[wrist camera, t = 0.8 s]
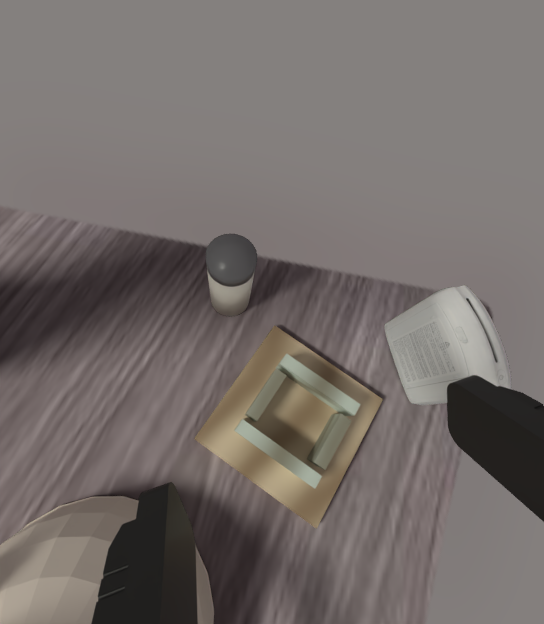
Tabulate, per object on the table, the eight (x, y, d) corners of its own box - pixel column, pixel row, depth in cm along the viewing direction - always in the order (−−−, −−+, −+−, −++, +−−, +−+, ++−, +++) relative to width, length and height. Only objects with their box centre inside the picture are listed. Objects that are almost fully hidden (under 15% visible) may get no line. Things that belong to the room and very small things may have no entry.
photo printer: (442, 401, 37) (539, 389, 26) (408, 410, 36) (493, 402, 25) (409, 316, 40) (483, 270, 29) (377, 322, 39) (441, 278, 28)
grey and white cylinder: (202, 302, 37) (194, 260, 28) (225, 273, 39) (226, 225, 30) (234, 324, 37) (237, 288, 28) (256, 294, 39) (266, 252, 29)
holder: (195, 438, 33) (191, 439, 29) (273, 327, 37) (278, 316, 34) (313, 525, 32) (325, 539, 28) (378, 400, 36) (396, 396, 33)
